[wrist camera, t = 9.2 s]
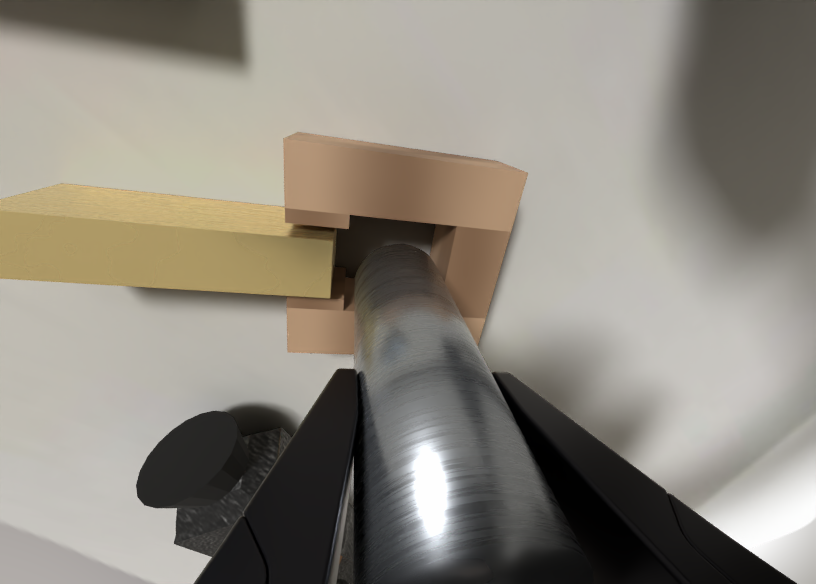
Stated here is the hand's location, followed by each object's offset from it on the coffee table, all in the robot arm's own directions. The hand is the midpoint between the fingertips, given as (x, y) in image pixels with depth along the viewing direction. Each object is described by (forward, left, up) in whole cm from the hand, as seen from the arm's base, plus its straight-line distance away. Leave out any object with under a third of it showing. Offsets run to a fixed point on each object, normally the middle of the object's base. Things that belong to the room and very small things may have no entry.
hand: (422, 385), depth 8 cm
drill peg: (0, 0, -5) cm, 5 cm away
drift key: (+7, 0, -9) cm, 12 cm away
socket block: (0, 0, -9) cm, 9 cm away
